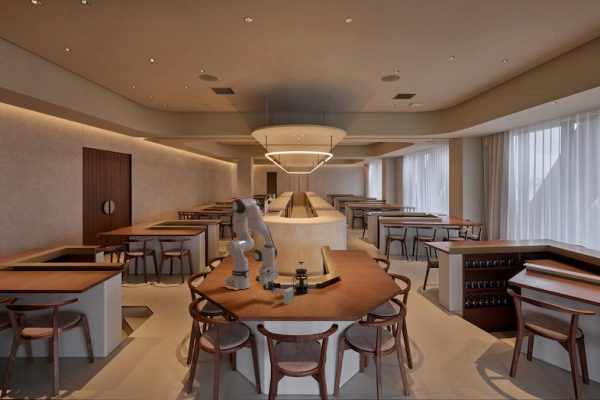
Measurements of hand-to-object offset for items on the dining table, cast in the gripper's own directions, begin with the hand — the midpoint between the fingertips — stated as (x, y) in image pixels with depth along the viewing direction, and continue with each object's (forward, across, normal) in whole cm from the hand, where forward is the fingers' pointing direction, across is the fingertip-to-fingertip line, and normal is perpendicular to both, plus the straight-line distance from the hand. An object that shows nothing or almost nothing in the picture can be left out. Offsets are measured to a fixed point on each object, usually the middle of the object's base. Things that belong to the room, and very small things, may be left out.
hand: (269, 287), depth 219 cm
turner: (+2, 0, +4) cm, 4 cm away
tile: (+8, 0, +16) cm, 18 cm away
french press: (+8, -21, +15) cm, 27 cm away
